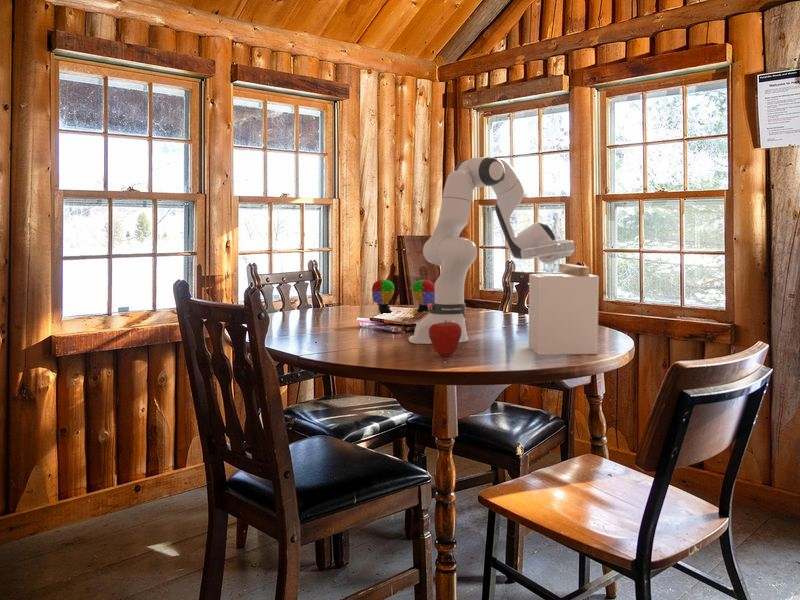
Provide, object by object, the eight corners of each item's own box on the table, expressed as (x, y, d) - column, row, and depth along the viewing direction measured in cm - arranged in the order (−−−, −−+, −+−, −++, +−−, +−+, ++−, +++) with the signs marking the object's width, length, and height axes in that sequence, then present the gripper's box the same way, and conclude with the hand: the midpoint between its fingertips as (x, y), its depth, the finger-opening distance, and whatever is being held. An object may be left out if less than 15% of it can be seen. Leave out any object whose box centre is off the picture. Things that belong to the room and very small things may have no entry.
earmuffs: (437, 323, 305) (436, 279, 302) (433, 326, 296) (433, 280, 294) (375, 322, 311) (374, 278, 308) (370, 325, 302) (369, 280, 300)
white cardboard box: (538, 354, 229) (539, 276, 226) (528, 347, 243) (529, 273, 240) (597, 353, 230) (599, 275, 227) (584, 346, 243) (585, 272, 241)
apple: (445, 351, 236) (445, 316, 235) (468, 355, 228) (468, 319, 227) (422, 355, 229) (421, 319, 227) (444, 360, 221) (444, 323, 219)
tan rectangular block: (578, 276, 227) (579, 267, 226) (558, 271, 250) (559, 263, 250) (589, 276, 227) (589, 267, 226) (568, 271, 251) (568, 263, 250)
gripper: (520, 248, 273) (517, 245, 260) (572, 239, 268) (572, 235, 255) (522, 264, 273) (520, 261, 259) (575, 255, 268) (575, 252, 255)
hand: (546, 248), depth 257 cm, fingers open, 8 cm apart
